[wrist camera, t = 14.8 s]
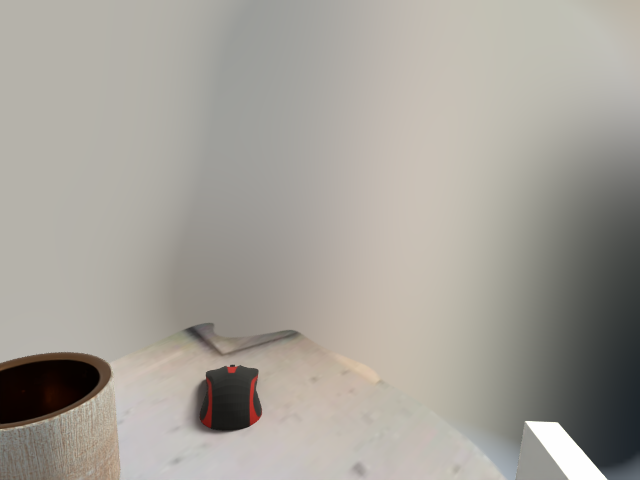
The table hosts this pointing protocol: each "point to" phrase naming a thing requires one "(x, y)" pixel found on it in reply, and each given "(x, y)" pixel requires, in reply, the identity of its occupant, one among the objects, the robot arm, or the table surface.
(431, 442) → the table surface
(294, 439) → the table surface
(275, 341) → the table surface
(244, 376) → the computer mouse
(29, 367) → the planter
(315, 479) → the table surface
